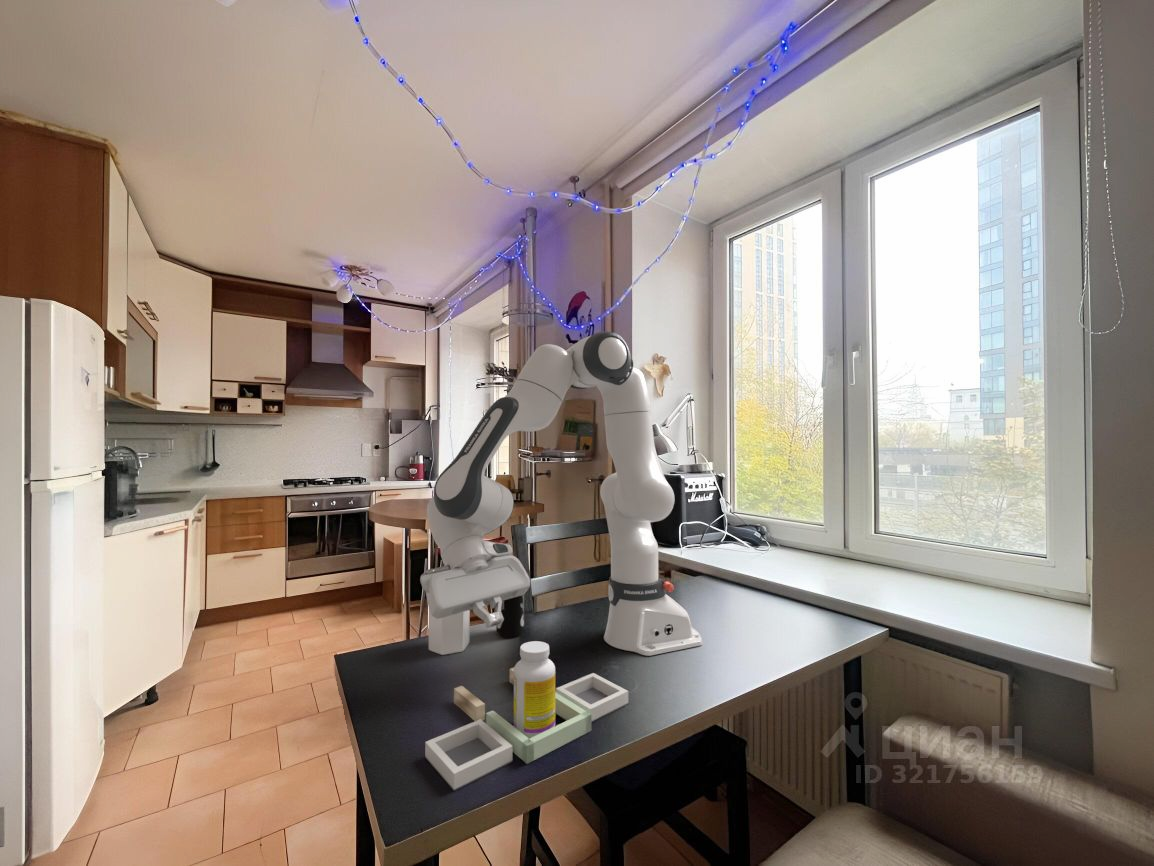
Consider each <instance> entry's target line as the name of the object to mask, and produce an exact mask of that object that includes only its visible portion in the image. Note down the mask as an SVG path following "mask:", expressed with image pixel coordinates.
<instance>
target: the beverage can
mask: <svg viewBox="0 0 1154 866" xmlns="http://www.w3.org/2000/svg"><path fill="white" fill-rule="evenodd" d="M501 613H502V616H503V618H504V621H503V622H502V623H501V624H498V625H495V627H496V628H495V629H496V630H495V632H496V633H497V635H498V636H500V637H502V638H505V639H507V638H508V639H509V638H510V639H512V638H517V637H519V636H521V635H522V633H523V632H524V631H525V630H524V629H525V594H524V595H521V596H518V597H514V598H510V599H507V600H503V601H502V606H501Z"/></svg>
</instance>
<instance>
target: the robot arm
mask: <svg viewBox="0 0 1154 866" xmlns="http://www.w3.org/2000/svg"><path fill="white" fill-rule="evenodd" d="M593 387H595V388H597V389H598V391H599V392H600V394H601V398H602V401H603V415H604V417H603V418H604V428H605V439H606V441H605V443H606V448H607V451H608V453H609V454H610V456H611V458H612V462H613V465H614V468H615V472H614V473H612V474H610V475H608V476H607V477H605V478H604V479H603V481H602V483H601V485H600V490H599V491H600V492H599V493H600V499H601V501H602V503H603V506H604V512H605V518H606V522H607V523H606V524H607V529H608V533H609V534H608V536H609V540H610V576H609V579H608V601H609V609H608V610H609V611H608V617H607V624H606V629H605V632H604V635H603V640H604V642H606V643H607V644H608V645H609V646H611V647H613V648H616V649H619V650H624V651H628V652H634V653H636V654H639V655H642V656H646V657H648V656H649V657H650V656H655V655H659V654H664V653H669V652H675V651H679V650H684V649H690V648H695V647H699V646H702V645H703V638H702V636H701V634H700V633H699V632H698V631H697V630H696V629H695V628H694V627H692V622H691V619H690V618H691V617H690V615H689V614H688V613H689V612H687V610H686V609H685V608H684V607H682V606H681V605H680V604H679V603H678V602H676V600H674V599H673V598H672V597H670V596H669V595H668V594H667V593H672V592H673V591H674V588H675V586H674V585H673V583H670V581H665V580H664V579H663V578H660V577H659V545H658V541H657V540H656V538H655V536H654V533H653V529H652V525H651V523H655V522H660V521H663V520H665V519H666V518H667V517H668V516H670V514H671V513H672V511H673V508H674V505H675V501H676V500H675V493H674V490H673V488H672V486H671V485H670V484H669V482H668V481H667V478H666V477H665V474H664V472H663V469H662V465H661V463H660V460H659V456H658V453H657V450H656V445H655V440H654V439H655V438H654V437H655V436H654V430H653V417H652V409H651V400H650V394H649V390H648V384H647V382H646V378H645V376H644V373H643V372H642V371H641V370H640V369H638V368H637V367H634V360H633V358H632V355H631V352H630V348H629V346H628V344H627V342H626V341H625V339H624V338H623V337H622V336H621V335H620V334H618V333H616V332H614V331H599V332H596V333H594V334H592V335H589V336H586V337H584V338H582V339H580V340H577V342H575V343H574V344H573V345H571V346H569V347H567V348H565V349H564V348H563V347H561V346H559V345H556V344H551V343H546V344H542V345H540V346H538V347H537V348H536V349H534V352H533V353H532V354H531V355H530V357H529V358H528V359H527V361H526V362H525V364H524V365H523V367H522V369H521V371H520V373H519V374H518V376H517V378H516V379H515V381H514V383H513V386H512V387H511V389H510V390H509V391H508V393H507V394H506V395H505V396H503V397H500V398H499V399H497V400H496V401H494V402H493V403H492V405H490V406H489V408H488V409H487V411H485V414H484V415H483V416H482V417H481V419H480V421H479V422H478V424H477V425H476V427H475V428H474V429H473V431H472V433H471V434H470V435H469V437H468V439H467V440H466V441H465V443H464V445H463V446H462V447H461V448H460V449H461V450H460V451H459V452H458V453H457V455H456V457H454V458H453V460H452V461H451V463H449V464H448V465H447V466H446V467H445V469H444V470H443V471H442V472H441V473H440V474H439V475H438V477H437V479H436V481H435V483H434V487H433V495H432V497H431V498H430V500H429V501H428V503H427V506H426V518H427V519H426V520H427V523H428V524H427V525H428V526H429V529H430V533H431V535H432V537H433V541H434V542H435V544H436V545H437V546H438V548H439V550H440V557H441V560H442V562H443V566H439V567H436V568H429V569H426V570H425V571H424V572H423V573H422V574H421V575H420V577H419V578H420V579H419V581H420V584H421V587H422V589H423V590H424V591H425V595H426V601H427V606H428V611H429V610H430V613H431V615H432V616H433V617H435V618H436V619H439V618H443V617H447V616H450V615H454V614H457V613H461V612H464V611H468V610H470V611H471V610H472V611H473V614H474V615H475V616H477V617H478V618H479V619H480V620H482V621H483V622H484V624H485V627H486V629H487V628H488V629H489V628H492V627H496V625H498V624H501V623H502V622H503V621H504V618H503V616H502V613H501V606H502V601H503V600H507V599H510V598H514V597H518V596H521V595H524V596H525V594H526V592H527V591H528V590H529V589H530V586H531V578H530V576H529V574H528V572H527V571H526V568H524V565H523V564H522V562H521V561H520V559H519V558H517V557H516V555H515V556H514V555H513V554H512V553H513V548H512V546H511V545H510V544H508V543H500V542H493V541H488V540H484V537H483V536H485V535H488V534H491V533H492V532H494V531H495V530H497V529H498V528H500V527H502V526H504V524H505V523H506V522H508V520H509V519H510V518H511V516H512V513H513V511H514V506H515V505H514V504H515V501H514V496H513V493H512V491H511V490H510V489H509V488H508V487H506V486H504V485H503V484H501V482H498V481H496V480H494V479H492V478H490V477H488V476H486V470H487V468H488V467H489V464H490V462H492V460H493V458H494V457H495V455H496V453H497V452H498V450H499V448H500V446H501V445H502V444H503V442H504V441H505V439H506V438H508V436H510V435H511V434H513V433H516V432H528V433H530V432H537V431H540V430H544V429H546V428H547V427H549V426H550V424H551V423H553V421H554V420H555V418H556V416H557V414H558V412H559V410H560V407H561V406H562V404H563V401H564V399H565V396H566V394H567V392H568V390H569V389H570V388H573V389H578V390H583V389H584V390H585V389H588V388H593ZM666 592H667V593H666ZM485 606H490V608H491V609H494V612H493V613H490V612H489V611H488V610H486V609H485V608H484V607H485Z"/></svg>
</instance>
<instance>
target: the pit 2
mask: <svg viewBox="0 0 1154 866" xmlns="http://www.w3.org/2000/svg"><path fill="white" fill-rule="evenodd" d="M555 692H556V693H558V694H559V695H561V696H562V697H564V698H566V699H567V700H569V701H571V702H572V703H574V704H575V705H577V706H579V707H580V708H582V709H583V710H585V711H587V712H588V713H590V714H592V723H594V722H595V721H598V720H600V719H601V718H603V717H606V716H607V715H610V714H611V713H613V712H615V711H617V710H619V709H621V708H623V707H625V706H626V705H629V690H627V689H625V688H623V687H621V686H619V685H617V684H615V683H613V682H611V681H609V680H608V679H606V678H604V677H602V676H600V675H598V674H597V673H594V672H592V673H590V674H587V675H584V676H582V677H580V678H577V679H576V680H572V681H570V682H568V683H566V684H562V685H561V686H558V687H555Z"/></svg>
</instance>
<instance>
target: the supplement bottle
mask: <svg viewBox="0 0 1154 866" xmlns="http://www.w3.org/2000/svg"><path fill="white" fill-rule="evenodd" d="M519 655H520V660H518V661H517V662H516V663H515V666H514V667H515V668H514V667H513V668H514V685H513V726H514V727H515V728H516V729H517V730H519V731H520V732H521V733H522V734H524V735H525V736H526V737H527V738H529V739H530V738H532V737H534V736H536V735H538V734H540V733H542V732H544V731H546V730H548V729H551V728H553V727H555V726H556V713H555V692H556V666H555V663H554V662H553V661H552V660H551V659H550V658H549V655H550V645H549V643H548V642H547V643H546V642H544V641H537V640H534V641H533V640H532V641H528V642H524V643H522V644H521V645H520V648H519Z"/></svg>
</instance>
